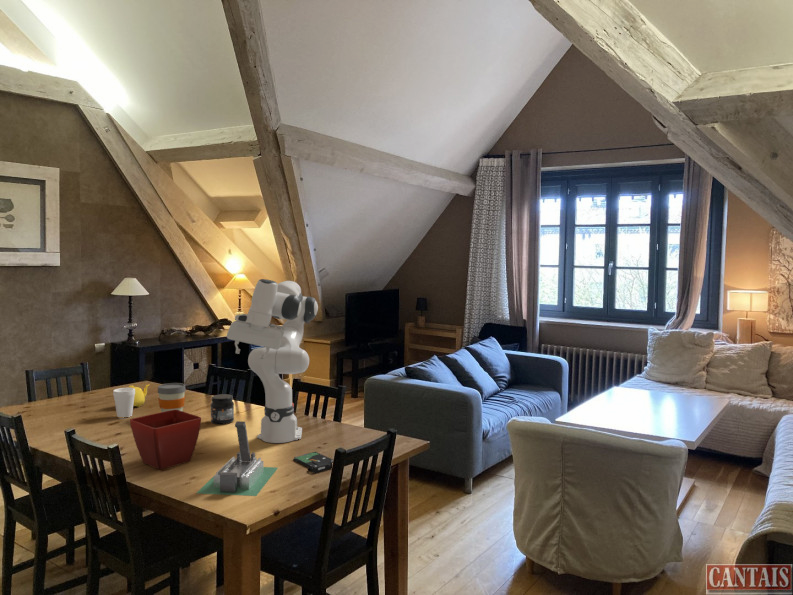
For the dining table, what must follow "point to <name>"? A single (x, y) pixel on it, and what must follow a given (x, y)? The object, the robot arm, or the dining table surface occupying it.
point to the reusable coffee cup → (171, 396)
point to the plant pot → (166, 437)
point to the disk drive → (315, 462)
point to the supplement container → (222, 409)
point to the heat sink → (238, 474)
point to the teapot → (139, 395)
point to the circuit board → (253, 491)
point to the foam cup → (124, 401)
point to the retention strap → (243, 441)
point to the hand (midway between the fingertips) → (249, 356)
